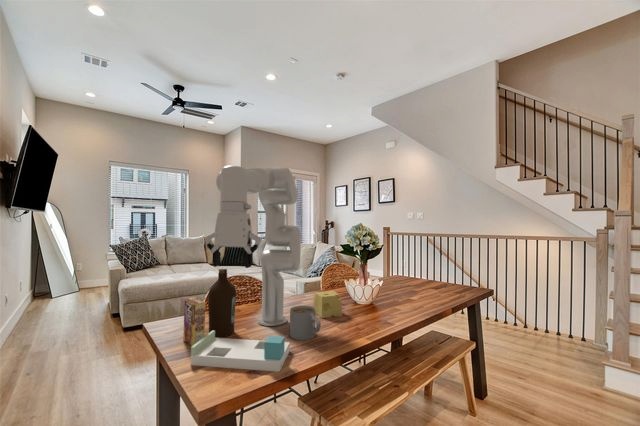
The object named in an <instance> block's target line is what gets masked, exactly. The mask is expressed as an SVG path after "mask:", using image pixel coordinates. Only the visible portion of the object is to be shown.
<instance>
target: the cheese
mask: <svg viewBox="0 0 640 426" xmlns="http://www.w3.org/2000/svg"><path fill="white" fill-rule="evenodd" d="M342 303H343V302H342V299H341V297H340V294H339V293H338V292H337V291H335V290H327V291H320V292H319V291H317V292H314V296H313V307H314V308H315V315H317V316H319V317H320V318H321V319H327V318H331V317H335V318H337V317H338V318H339V317H342V316H343V309H342Z"/></svg>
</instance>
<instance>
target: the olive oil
mask: <svg viewBox="0 0 640 426" xmlns="http://www.w3.org/2000/svg"><path fill="white" fill-rule="evenodd" d="M217 275H218V276H217V277H218V278H217V280H216V281H215V282H214V283H213V284H212V286H211V287H210V288H209V290H208V293H207V301H208V303H207V304H208V305H207V307H208V334H209V333H210V332H211V331H212V330H214V331H215V338H226V337H228V336H231V335H233V334H234V332H235V321H236V320H235V318H236V307H237V305H236V304H237V303H236V301H237V289H236V287H235V285H234V284H233V283H232V282H231V281H230V280H229V279H228V269H227V268H220V269H218V274H217Z"/></svg>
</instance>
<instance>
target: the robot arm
mask: <svg viewBox="0 0 640 426" xmlns="http://www.w3.org/2000/svg"><path fill="white" fill-rule="evenodd" d="M215 181H216V182H215V183H216V188H217V189H218V191H219V192H220V206H219V207H220V208H219V212H218V213H217V216H216V222H215V228H214V232H213V233H210V234H209V235H207V236H205V237H204V241H205V244H206V247H207V248H208V249H209V250H210V252H211V254H212V260H211V261H212V264H213V267H214V268H217V267H220V266H221V252H220V251H221V249H222V248H243V249H244V250H245V252H246V253H245V255H244V256H245V257H244V259H245V263H244V266H245V268H247V269H249V268H251V267H252V265H253V262H254V260H253V259H254V253H255V252H256V251H257V249H258V248H259V247H260V245H261V243H262V241H263V239H262V238H261V237H260V236H258V235H257V234H254V233H253V232H252V231H253V230H252V228H253V227H252V222H251V221H252V219H251V214H250V213H249V212H248V210H251V209H252V205H251V204H248V202H247V201H248V195H250V194H251V195H252V194H256V193H257V196H258V199H259V201H260V205H261V206H262V208H263V210H264V212H265V214H264V215H265V229H264V230H265V231H264V240H265V241H264V242H265V244H266V245H267V246H270V247H284V248H285V247H287V248H289V249H273V248H272V249H266V250H264V251H263V252H262V253H261V255H260V267H261V282H262V283H261V316H260V317H258V319H257V323H258V324H260V325H261V326H266V327H276V326H281V325H284V324H286V323H287V322H288V318H287V316H285V315H284V312H285V311H284V305H285V304H284V302H285V297H284V296H285V293H284V292H285V281H284V277H283V276H282V275H281V273H280V272H282V273H283V272H284V273H285V272H287V273H295V272H298V271H299V269H300V267H301V252H302V251H301V248H302V243H301V241H302V236H301V235H302V233H301V230H300V228H299V227H298V226H297V225H287V224H286V223H285V220H286V218H285V217H286V214H285V212H284V210H283V209H282V207H281V206H280V205H286V206H287V205H289V206H290V205H295V204H296V203H297V201H298V197H299V195H298V194H299V193H298V189H297V184H296V182H295V178H294V175H293V173H292V171H291V170H290V168H288V167H279V166H278V167H251V168H245V167H243V166H238V165H226V166H223V167H222V168H221V170H220V172H219V173H218V174H217V176H216V180H215ZM212 240H213V241H214V242H213V241H212ZM253 241H254V244H253ZM252 244H253V245H252Z"/></svg>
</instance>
